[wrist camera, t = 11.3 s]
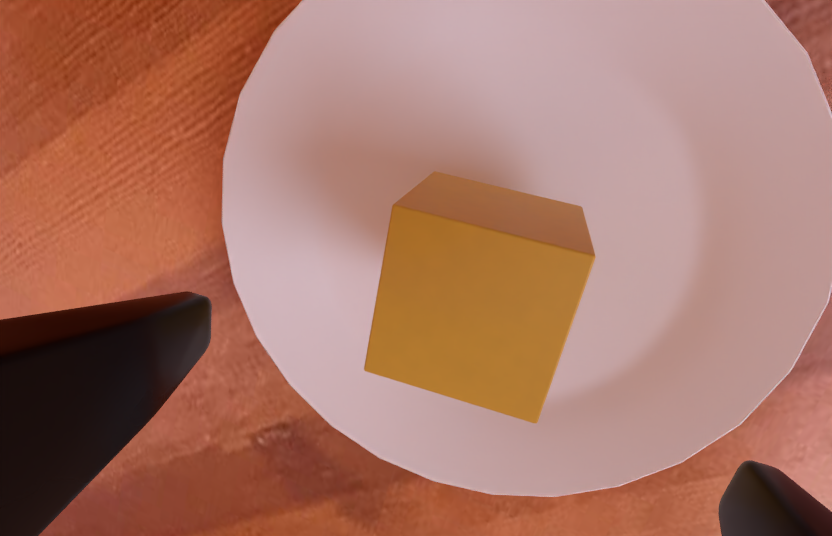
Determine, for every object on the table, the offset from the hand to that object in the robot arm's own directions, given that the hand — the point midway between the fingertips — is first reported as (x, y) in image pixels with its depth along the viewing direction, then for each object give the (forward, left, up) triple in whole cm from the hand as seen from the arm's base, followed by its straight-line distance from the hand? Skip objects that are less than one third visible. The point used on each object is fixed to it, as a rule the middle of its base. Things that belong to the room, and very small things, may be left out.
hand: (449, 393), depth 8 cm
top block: (0, +1, -10) cm, 10 cm away
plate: (0, +1, -12) cm, 12 cm away
